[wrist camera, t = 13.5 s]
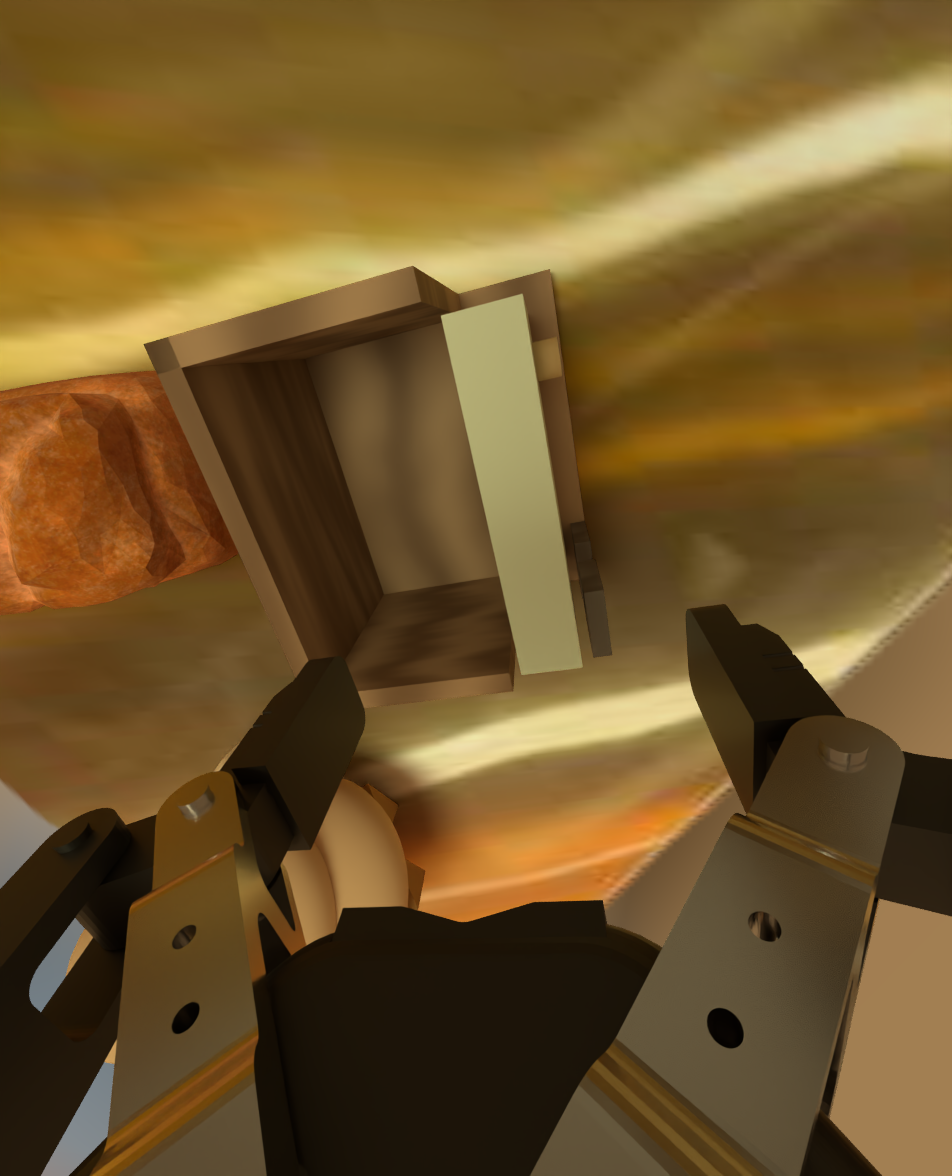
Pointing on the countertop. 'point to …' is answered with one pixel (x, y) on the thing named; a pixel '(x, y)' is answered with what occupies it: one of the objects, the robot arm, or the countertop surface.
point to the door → (516, 473)
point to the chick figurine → (341, 865)
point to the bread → (99, 494)
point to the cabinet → (369, 480)
